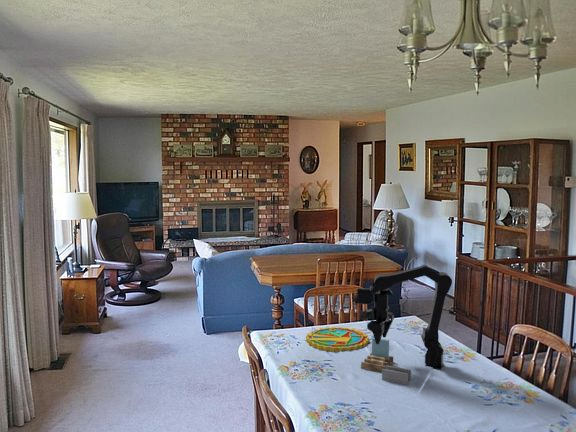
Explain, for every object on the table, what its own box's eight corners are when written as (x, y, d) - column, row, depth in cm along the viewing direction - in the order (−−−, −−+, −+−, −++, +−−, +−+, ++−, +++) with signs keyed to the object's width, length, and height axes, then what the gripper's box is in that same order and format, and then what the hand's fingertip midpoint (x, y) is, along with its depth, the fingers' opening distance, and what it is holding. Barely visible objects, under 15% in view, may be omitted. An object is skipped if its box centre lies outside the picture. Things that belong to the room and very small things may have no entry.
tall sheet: (388, 362, 215) (389, 339, 214) (387, 364, 213) (388, 341, 212) (372, 360, 218) (373, 337, 217) (371, 361, 216) (372, 338, 215)
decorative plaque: (303, 346, 230) (307, 325, 260) (303, 351, 230) (307, 330, 260) (370, 348, 227) (367, 326, 257) (370, 353, 227) (367, 332, 257)
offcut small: (383, 369, 208) (383, 361, 207) (382, 370, 207) (382, 362, 206) (371, 367, 210) (371, 358, 210) (370, 368, 209) (370, 360, 208)
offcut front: (385, 365, 211) (385, 357, 211) (383, 367, 210) (384, 358, 210) (371, 363, 214) (371, 355, 214) (370, 364, 213) (370, 356, 213)
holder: (410, 380, 198) (410, 369, 197) (407, 385, 193) (407, 374, 193) (385, 376, 202) (385, 365, 202) (381, 380, 198) (382, 369, 198)
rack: (394, 363, 215) (394, 356, 215) (385, 374, 204) (386, 366, 204) (369, 359, 220) (369, 352, 220) (360, 369, 209) (360, 362, 209)
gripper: (369, 297, 225) (369, 331, 227) (355, 307, 209) (355, 344, 210) (394, 300, 220) (394, 335, 221) (381, 311, 203) (381, 348, 205)
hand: (380, 340), depth 215 cm, fingers open, 9 cm apart
